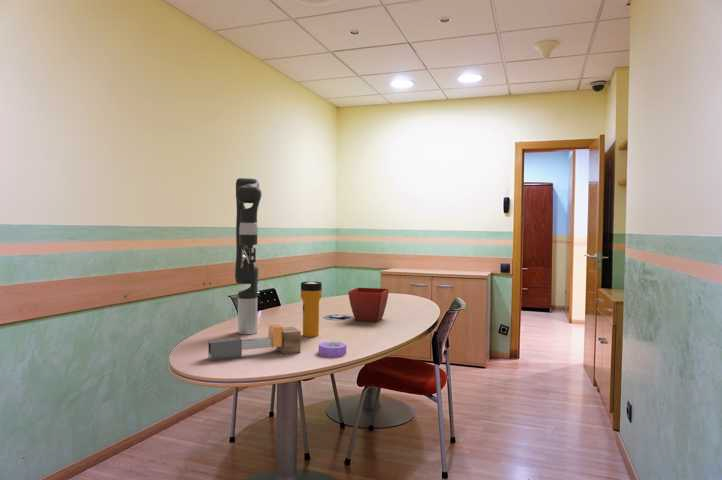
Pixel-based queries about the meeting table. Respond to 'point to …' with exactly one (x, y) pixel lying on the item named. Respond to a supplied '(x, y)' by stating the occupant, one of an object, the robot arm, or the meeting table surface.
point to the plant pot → (368, 303)
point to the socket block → (290, 340)
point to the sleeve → (224, 349)
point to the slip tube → (265, 339)
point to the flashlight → (311, 307)
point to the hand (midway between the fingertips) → (248, 271)
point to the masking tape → (332, 349)
